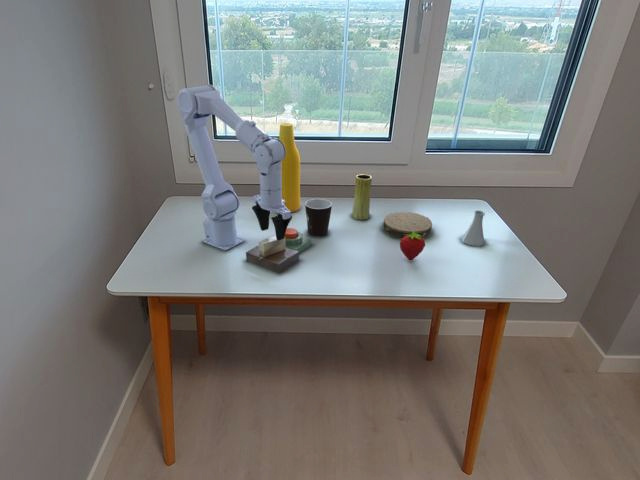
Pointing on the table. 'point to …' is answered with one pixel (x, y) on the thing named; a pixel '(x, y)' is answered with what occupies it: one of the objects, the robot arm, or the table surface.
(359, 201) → the vase
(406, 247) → the strawberry
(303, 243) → the button box
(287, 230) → the button
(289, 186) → the beer bottle
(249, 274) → the table surface
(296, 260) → the switch base
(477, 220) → the flask
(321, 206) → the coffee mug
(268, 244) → the cream rectangular block
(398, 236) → the cork coaster disc
